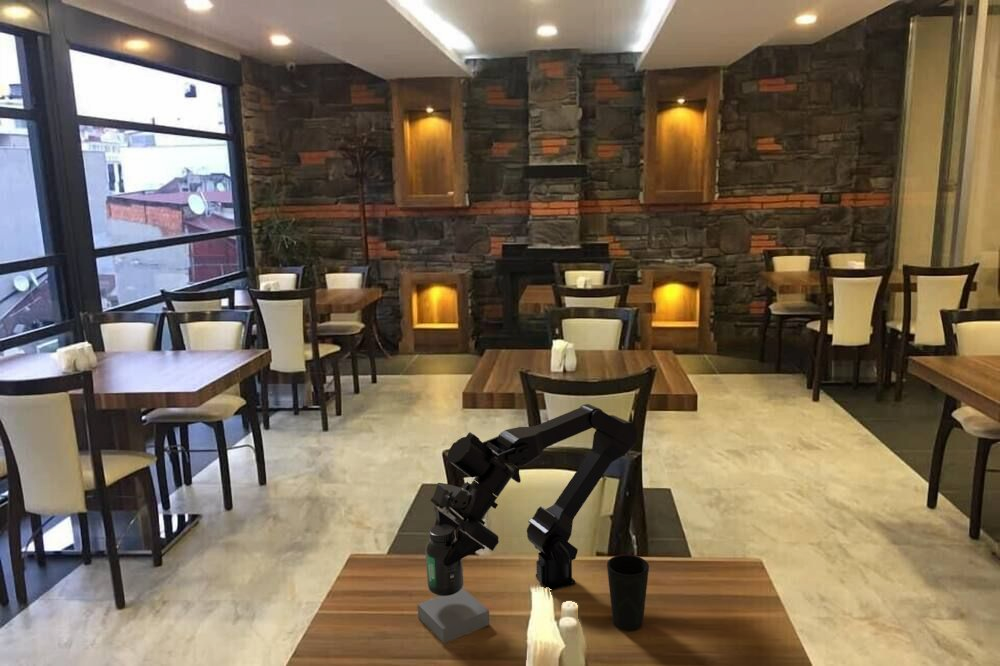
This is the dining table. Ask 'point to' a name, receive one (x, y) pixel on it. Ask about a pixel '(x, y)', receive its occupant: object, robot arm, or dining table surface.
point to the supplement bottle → (436, 551)
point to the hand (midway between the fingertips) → (437, 557)
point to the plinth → (453, 615)
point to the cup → (627, 590)
